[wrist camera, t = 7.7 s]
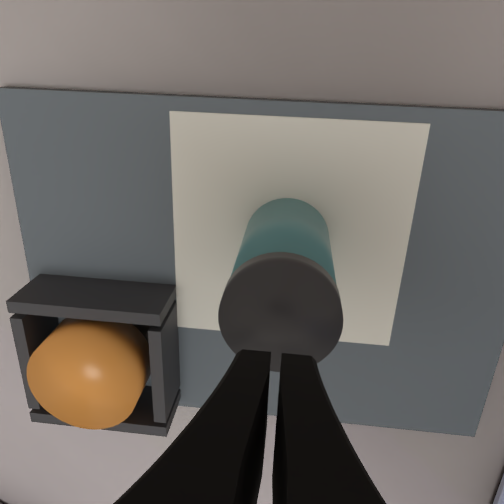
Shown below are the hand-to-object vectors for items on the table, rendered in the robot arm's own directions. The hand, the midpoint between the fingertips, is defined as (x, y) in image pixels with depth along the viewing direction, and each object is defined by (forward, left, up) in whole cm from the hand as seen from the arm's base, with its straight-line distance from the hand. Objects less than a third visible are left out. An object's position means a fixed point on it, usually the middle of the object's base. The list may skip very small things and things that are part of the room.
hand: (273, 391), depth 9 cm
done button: (+7, +6, -8) cm, 12 cm away
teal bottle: (0, 0, -9) cm, 9 cm away
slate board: (+1, +2, -9) cm, 10 cm away
